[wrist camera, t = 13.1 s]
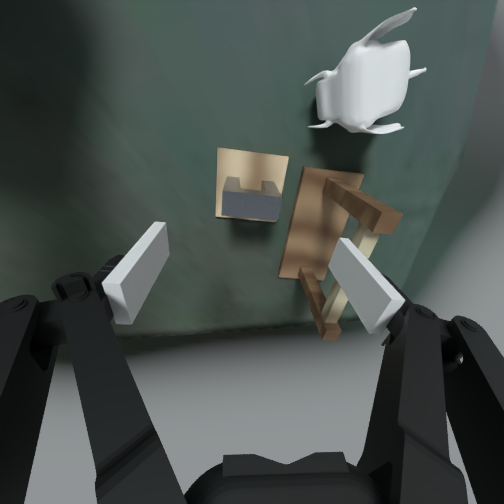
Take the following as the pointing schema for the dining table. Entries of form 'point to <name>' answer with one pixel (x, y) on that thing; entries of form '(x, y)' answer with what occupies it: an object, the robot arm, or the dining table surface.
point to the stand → (329, 236)
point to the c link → (251, 200)
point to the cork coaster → (248, 172)
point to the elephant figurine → (367, 82)
